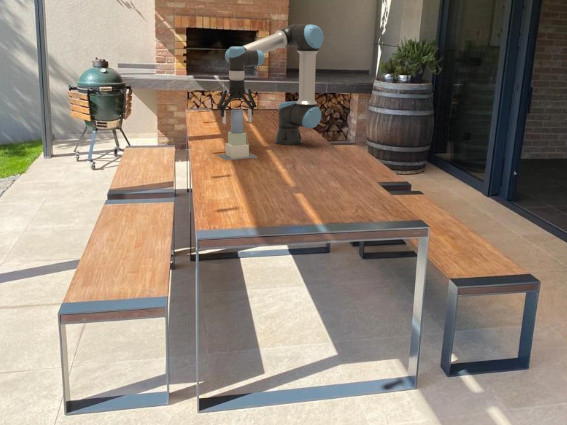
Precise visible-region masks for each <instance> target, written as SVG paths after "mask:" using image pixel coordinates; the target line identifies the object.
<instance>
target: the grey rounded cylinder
mask: <svg viewBox="0 0 567 425" xmlns="http://www.w3.org/2000/svg"><path fill="white" fill-rule="evenodd" d="M230 132H231V133H234V134H240V133H243V132H244V110H243V109H231V110H230Z"/></svg>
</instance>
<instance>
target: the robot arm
mask: <svg viewBox="0 0 567 425" xmlns="http://www.w3.org/2000/svg"><path fill="white" fill-rule="evenodd" d="M324 40H325V36H324V33H323V31H322V29H321V28H320V27H319V25H318V26H317V25H316V24H302V23H301V24H297V23H295V24H291V25H288V26H285V27H282V28H281V29H278V30H276V31H275V32H274V33H273V34H270V35H267V36H265V37H263V38H260V39H257V40H256V41H253V42H250V43H247V44H245V45H242V46H230V47H229V48H228V49H227V50H226V51H225V54H224V59H225V61H226V62H227V63H228V78H229V80H228V86H229V87H228V89H222V95H221V97H220V99H219V101H218V104H217V106H216V109H218V110H220V117H221V118H222V124H224V125H226V124H227V110H226V108H227V107H228V105H230V103H231V102H232V100H239V99H241V100H243V101H244V103H245V105H247V107H248V108H247V122H249V123H252V116H253V115H254V110H255V108H257V106H258V105H257V103H256V101H255V99H254V97H253V95H252V93H251V92H252V90H251V89H250V88H246V89H245V86H246V85H245V67H259V66H262V65H263V64H264V62H265V54H267V53H268V52H272V51H274V50H277V49H279V48H280V49H285V48H287V47H296V52H297V53H298V55H299V63H298V64H299V69H298V70H299V72H298V99H297V100H293V101H282V102H280V103H279V104H278V109H277V110H278V129H277V132H276V134H275V138H274V139H275V140H274V143H275V144H279V145H289V146H291V145H300V144H302V143H303V139H302V135H301V131H300V127H302V128H306V129H314V128H316V127H317V126H318V125H319V123H320V121H321V120H322V111H321V108H319V107H318V102H317V101H316V100H315V95H316V93H315V92H316V60H317V57H316V56H317V54H318V53H319V51H320V48H321V47H322V44H324ZM245 94H246V95H247V97H248V98H247V97H246V95H245ZM227 95H229V96H228V97H227ZM226 97H227V99H226ZM248 99H249V100H248Z"/></svg>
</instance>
